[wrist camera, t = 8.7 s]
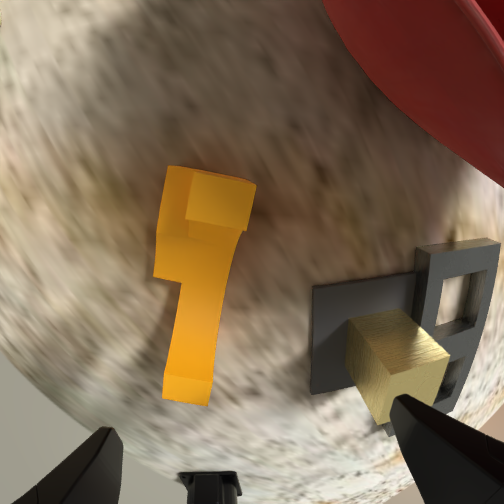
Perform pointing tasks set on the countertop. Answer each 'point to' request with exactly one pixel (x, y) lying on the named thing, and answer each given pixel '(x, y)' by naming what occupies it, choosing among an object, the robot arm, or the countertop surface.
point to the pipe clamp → (198, 269)
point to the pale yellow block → (392, 360)
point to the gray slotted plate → (477, 305)
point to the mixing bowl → (435, 67)
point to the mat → (337, 316)
